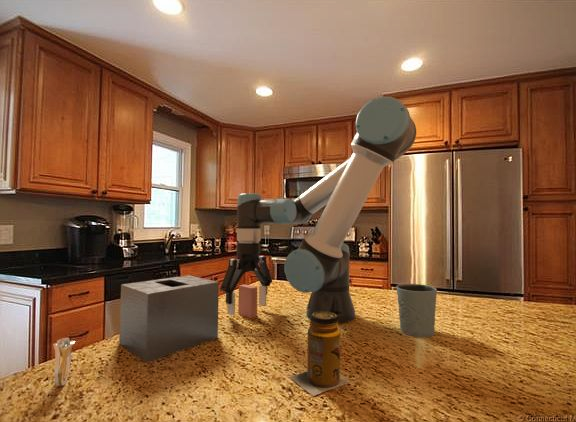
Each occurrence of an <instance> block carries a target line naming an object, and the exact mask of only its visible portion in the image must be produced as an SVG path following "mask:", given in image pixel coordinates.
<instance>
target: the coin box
mask: <svg viewBox="0 0 576 422" xmlns="http://www.w3.org/2000/svg"><path fill="white" fill-rule="evenodd" d="M219 285H220V282H219V281H215V280H212V279H208V278H203V277H197V276H193V275H188V274H187V275H183V276H174V277H168V278H161V279H151V280H146V281H145V280H144V281H139V282H137V281H136V282H131V283H122V284H120V304H119V305H120V307H119V311H120V312H119V313H120V314H119V336H118V337H119V338H118V339H119V340H118V344H119V345H120V346H121V347H123V348H124V349H126V350H128V352H130V353H131V354H133V355H134V356H136V357H138V358H139V359H140V360H142V361H144V362H145V363H147V362H151V361H153V360H156V359H159V358H162V357H167V356H169V355H172V354H174V353H178V352H180V351H183V349H184V350H186V349H189V348H192V347H196V346H199V345H200V344H201V345H202V344H204V343H207V342H211V341H213V340H216V339H219V301H220V298H219V295H220V294H219V293H220V292H219V291H220V286H219Z"/></svg>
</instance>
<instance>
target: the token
mask: <svg viewBox="0 0 576 422" xmlns="http://www.w3.org/2000/svg"><path fill="white" fill-rule="evenodd" d="M237 313H238V315H241V316H243V317H247V318H250V319H251V318H255V317H257V316H258V286H254V285H249V284H240V285H238V309H237Z"/></svg>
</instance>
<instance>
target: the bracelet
mask: <svg viewBox="0 0 576 422" xmlns="http://www.w3.org/2000/svg"><path fill="white" fill-rule="evenodd" d="M75 342H76V341H75V340H70V337H62V338H60V339H58V340H57V341H56V343H53V348H54V357H55V358H54V384H55V385H56V387H61V386H65V385H67V380H68V377H69V373H70V368H71V360H72V347H73V346H74V344H75ZM61 355H62V360H61Z"/></svg>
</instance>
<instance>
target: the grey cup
mask: <svg viewBox="0 0 576 422" xmlns="http://www.w3.org/2000/svg"><path fill="white" fill-rule="evenodd" d="M437 291H438V289H437V288H436V287H435V286H432V285H426V284H419V283H401V284H397V285H396V295H397V304H398V314H399V324H400V325H399V326H400V327H399V328H400V329H399V330H400V331H401V332H402V333H403V334H406V335H409V336H412V337H416V338H430V337H433V336H434V335H435V330H436V329H435V324H436V308H437V306H436V305H437V295H438V294H437V293H438V292H437Z"/></svg>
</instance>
